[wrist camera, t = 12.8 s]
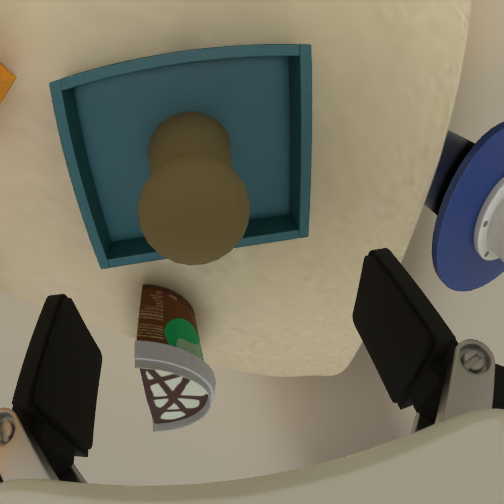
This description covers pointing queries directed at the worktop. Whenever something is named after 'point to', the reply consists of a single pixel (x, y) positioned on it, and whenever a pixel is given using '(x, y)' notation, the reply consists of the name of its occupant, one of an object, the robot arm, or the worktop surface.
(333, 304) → the worktop surface
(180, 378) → the food container
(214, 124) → the olive tapered rounded piece
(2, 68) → the orange juice
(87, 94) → the tray
